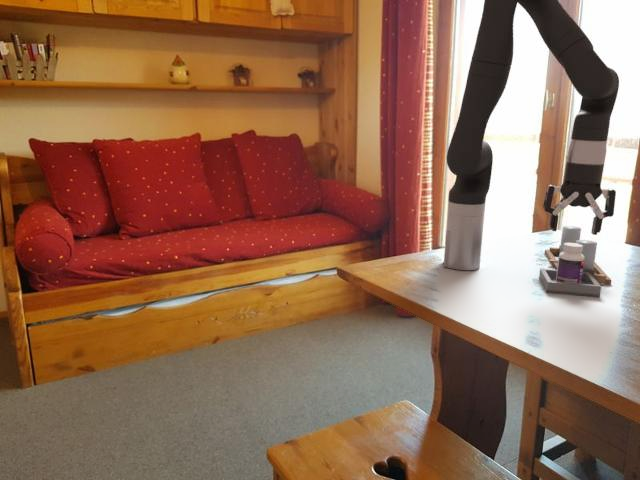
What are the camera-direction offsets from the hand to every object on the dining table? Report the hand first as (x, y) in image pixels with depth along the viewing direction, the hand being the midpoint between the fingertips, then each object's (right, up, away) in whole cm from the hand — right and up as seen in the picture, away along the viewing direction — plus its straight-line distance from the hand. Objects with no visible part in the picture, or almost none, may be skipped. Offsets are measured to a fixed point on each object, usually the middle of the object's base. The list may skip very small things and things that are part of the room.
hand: (573, 232), depth 118 cm
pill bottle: (0, -12, +3) cm, 13 cm away
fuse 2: (+7, -11, +11) cm, 17 cm away
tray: (0, -13, +3) cm, 13 cm away
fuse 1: (+12, -7, +27) cm, 30 cm away
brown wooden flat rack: (+9, -9, +19) cm, 23 cm away
